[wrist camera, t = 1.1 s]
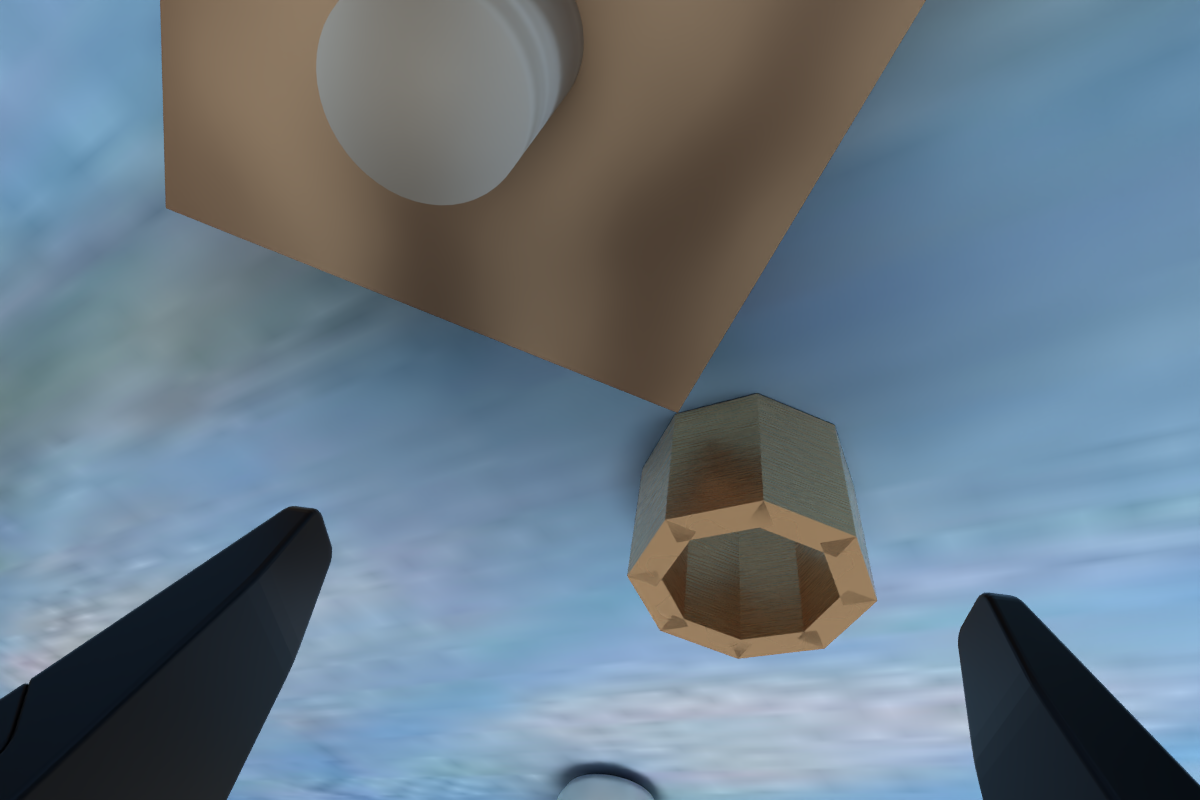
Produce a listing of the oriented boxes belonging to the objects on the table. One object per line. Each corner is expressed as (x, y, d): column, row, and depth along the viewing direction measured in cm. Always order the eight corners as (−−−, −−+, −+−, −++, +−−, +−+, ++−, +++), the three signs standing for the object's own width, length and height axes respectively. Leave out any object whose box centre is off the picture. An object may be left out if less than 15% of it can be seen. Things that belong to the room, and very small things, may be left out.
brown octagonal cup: (888, 446, 24) (920, 561, 20) (782, 564, 28) (791, 678, 24) (701, 370, 23) (695, 473, 19) (621, 502, 27) (603, 610, 23)
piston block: (1032, -231, 13) (1273, -315, 8) (681, 376, 23) (665, 548, 17) (219, -674, 12) (-305, -1241, 6) (207, 183, 21) (7, 301, 15)
